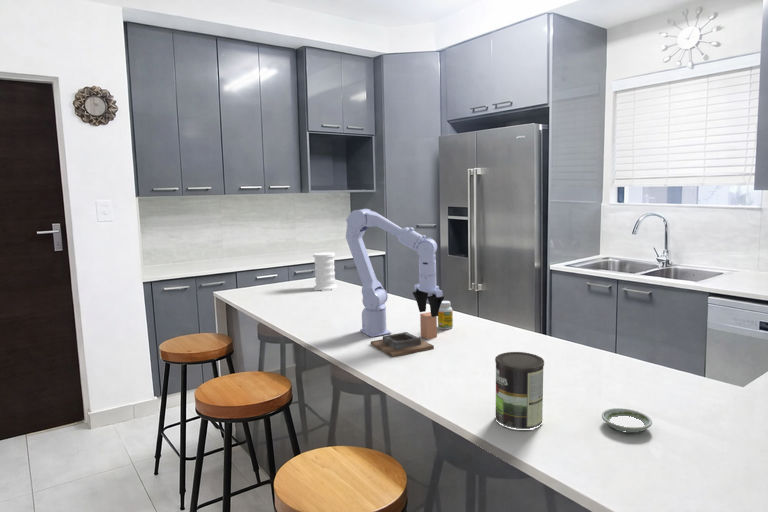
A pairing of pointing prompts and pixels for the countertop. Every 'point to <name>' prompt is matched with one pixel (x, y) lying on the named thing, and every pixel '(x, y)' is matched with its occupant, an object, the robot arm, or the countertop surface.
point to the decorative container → (324, 271)
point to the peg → (428, 325)
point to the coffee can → (519, 389)
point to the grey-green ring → (626, 412)
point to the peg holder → (401, 344)
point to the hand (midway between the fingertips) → (428, 313)
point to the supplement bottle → (445, 316)
